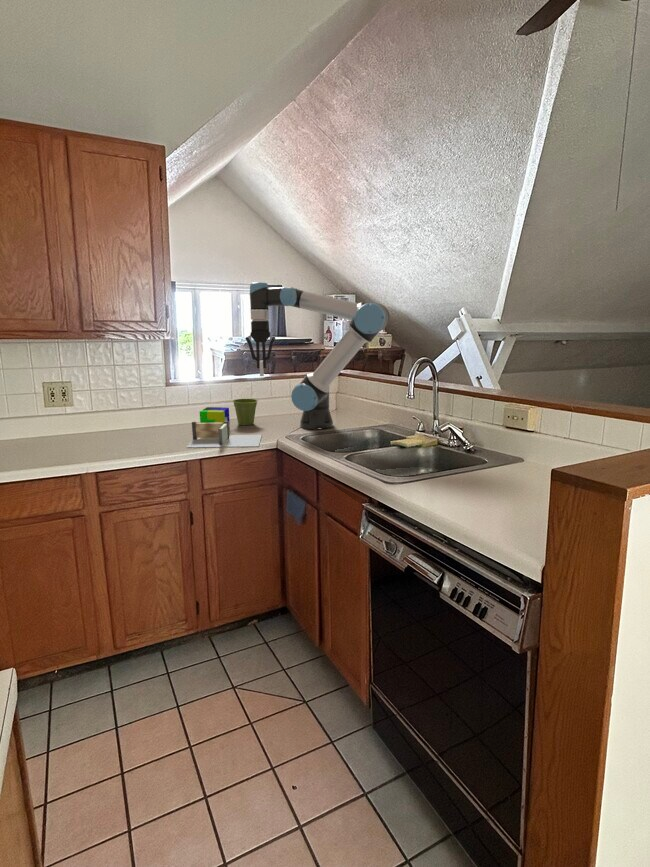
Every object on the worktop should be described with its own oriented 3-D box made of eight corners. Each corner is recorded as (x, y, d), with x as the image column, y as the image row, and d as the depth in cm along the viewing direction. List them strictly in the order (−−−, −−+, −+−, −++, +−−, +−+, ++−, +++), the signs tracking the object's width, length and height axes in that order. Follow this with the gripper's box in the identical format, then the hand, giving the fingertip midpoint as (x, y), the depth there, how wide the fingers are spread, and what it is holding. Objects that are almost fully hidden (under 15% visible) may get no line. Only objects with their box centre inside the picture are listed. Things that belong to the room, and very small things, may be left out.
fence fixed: (229, 438, 209) (228, 421, 207) (229, 439, 207) (228, 422, 205) (193, 439, 208) (192, 421, 206) (192, 440, 207) (191, 422, 205)
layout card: (261, 435, 214) (261, 434, 214) (258, 446, 197) (258, 445, 197) (195, 436, 213) (195, 435, 213) (186, 447, 195) (186, 447, 195)
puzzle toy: (229, 429, 226) (228, 407, 223) (223, 434, 216) (222, 412, 214) (208, 428, 227) (207, 407, 224) (200, 434, 217) (199, 411, 215)
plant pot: (257, 426, 230) (256, 402, 227) (231, 426, 230) (230, 402, 227) (260, 421, 241) (259, 398, 238) (235, 421, 241) (234, 398, 239)
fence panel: (222, 445, 196) (221, 429, 194) (218, 445, 196) (217, 429, 194) (227, 437, 206) (227, 422, 205) (224, 437, 206) (223, 422, 205)
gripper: (275, 320, 216) (277, 374, 222) (245, 320, 216) (247, 374, 221) (274, 320, 209) (276, 376, 215) (243, 320, 208) (246, 377, 214)
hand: (261, 375), depth 218 cm, fingers closed
